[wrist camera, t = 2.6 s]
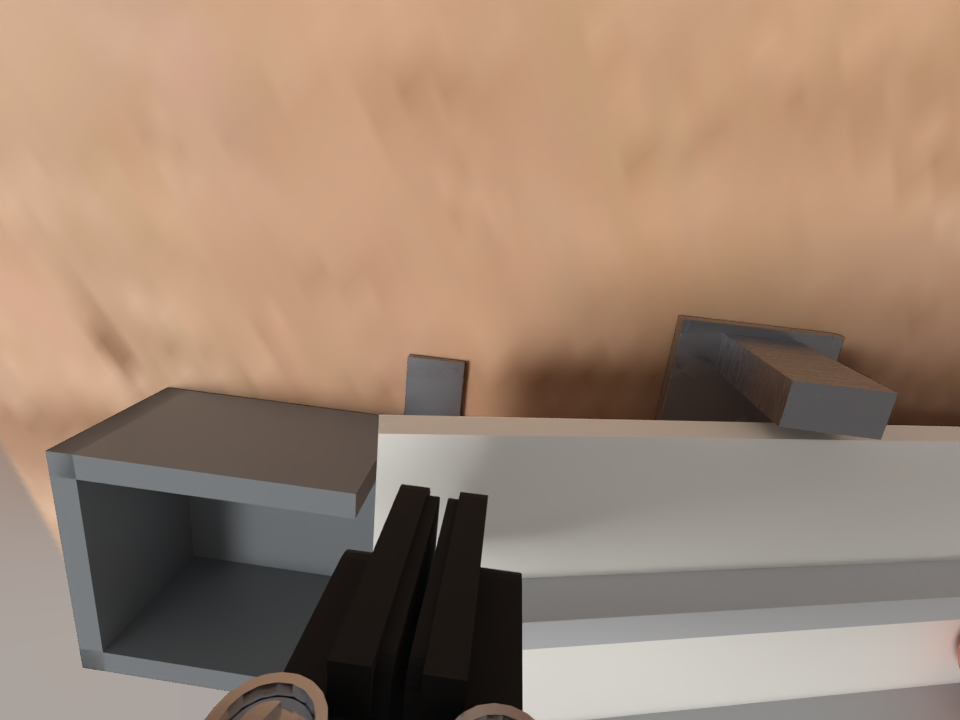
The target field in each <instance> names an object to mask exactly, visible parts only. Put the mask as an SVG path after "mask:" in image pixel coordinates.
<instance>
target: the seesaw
mask: <svg viewBox="0 0 960 720" xmlns="http://www.w3.org/2000/svg"><path fill="white" fill-rule="evenodd" d="M402 484H405V485H413V486H421V487H428V488H430V496H438V497H440V505H439V516H438V528H437V539H436V546H437V542H438V538H439V534H440V530H441V525H442V521H443V517H444V513H445V509H446V505H447V501H448V498H453V499H459V496H460V492H467V493H474V494H482V495H488V503H487V512H486V521H485V530H484V539H483V548H482V557H481V566H480V567H483V568H490V569H498V570H505V571H512V572H519V573H521V574H522V681H523V711H524V712H526V713H527V714H529V715H530V716H531V717H532V718H533V719H535V720H960V669H959V664H958V647H959V644H960V427H957V426H908V425H886V428H885V430H884V433H883V436H882V438H881V440H878V439H870V438H862V437H854V436H847V435H839V434H831V433H823V432H815V431H807V430H799V429H791V428H783V427H778V426H777V425H776V424H775V423H764V422H716V421H667V420H619V419H571V418H523V417H475V416H426V415H379V428H378V450H377V472H376V494H375V516H374V539H373V550H374V547H375V545H376V543H377V540H378V538H379V536H380V533H381V531H382V528H383V526H384V524H385V521H386V519H387V517H388V514H389V512H390V509H391V507H392V505H393V502H394V500H395V498H396V495H397V493H398V490H399V488H400V486H401V485H402Z"/></svg>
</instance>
